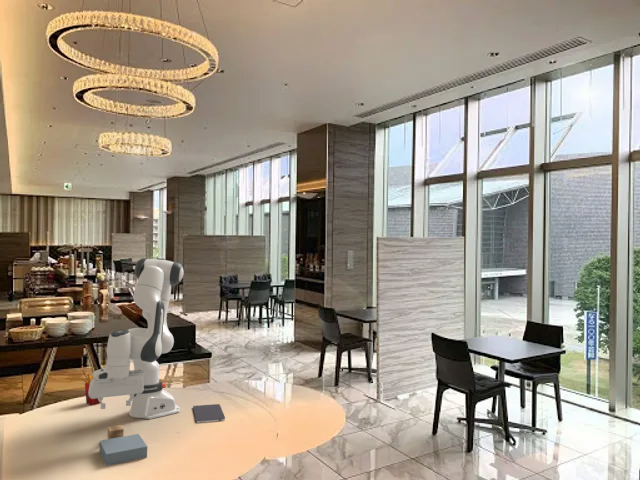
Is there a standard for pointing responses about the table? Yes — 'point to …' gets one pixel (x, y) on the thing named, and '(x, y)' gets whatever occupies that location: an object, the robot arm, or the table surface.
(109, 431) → the walnut cube
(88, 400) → the french fries
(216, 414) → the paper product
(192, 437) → the table surface
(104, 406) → the robot arm
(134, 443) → the slate plinth
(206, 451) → the table surface
